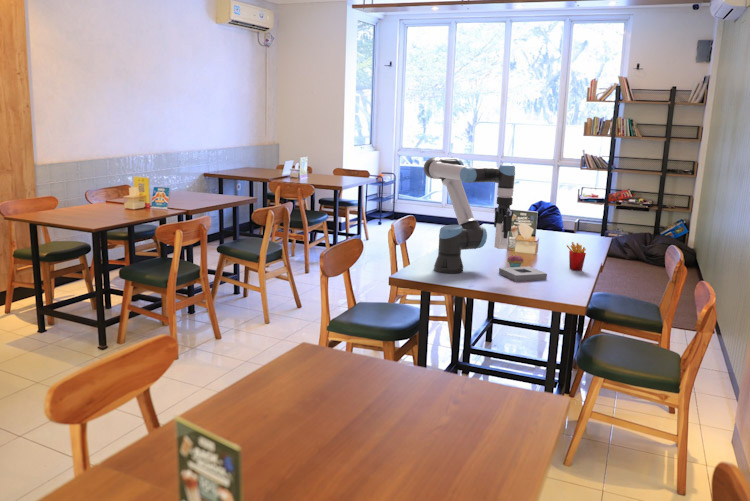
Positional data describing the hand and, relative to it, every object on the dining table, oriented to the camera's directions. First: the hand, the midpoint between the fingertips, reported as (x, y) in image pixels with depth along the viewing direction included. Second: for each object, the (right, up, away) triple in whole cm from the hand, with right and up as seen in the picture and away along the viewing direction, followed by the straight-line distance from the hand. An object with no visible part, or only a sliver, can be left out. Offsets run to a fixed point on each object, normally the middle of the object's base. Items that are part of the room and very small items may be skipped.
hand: (501, 243), depth 316 cm
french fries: (+45, -14, +29) cm, 56 cm away
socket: (+13, -17, +10) cm, 24 cm away
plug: (0, -2, 0) cm, 2 cm away
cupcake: (+13, -13, +28) cm, 34 cm away
